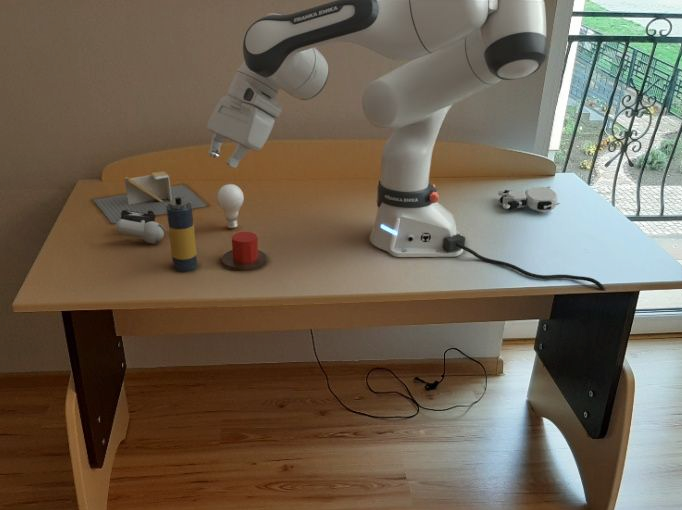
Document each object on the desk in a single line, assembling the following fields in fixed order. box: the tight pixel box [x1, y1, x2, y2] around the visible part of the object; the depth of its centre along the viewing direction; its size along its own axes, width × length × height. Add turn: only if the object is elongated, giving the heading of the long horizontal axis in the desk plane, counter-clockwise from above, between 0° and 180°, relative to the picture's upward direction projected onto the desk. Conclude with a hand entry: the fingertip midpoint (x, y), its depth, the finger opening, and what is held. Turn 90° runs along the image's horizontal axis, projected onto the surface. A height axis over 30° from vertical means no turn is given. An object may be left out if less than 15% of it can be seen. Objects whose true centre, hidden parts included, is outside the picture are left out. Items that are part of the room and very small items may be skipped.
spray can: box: [166, 197, 198, 273], centre depth 147 cm, size 5×5×16 cm
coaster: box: [221, 249, 268, 272], centre depth 154 cm, size 10×10×1 cm
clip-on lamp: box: [115, 210, 169, 245], centre depth 162 cm, size 12×6×18 cm
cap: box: [231, 231, 259, 263], centre depth 153 cm, size 6×6×5 cm
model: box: [124, 170, 173, 205], centre depth 179 cm, size 3×11×8 cm, turn 121°
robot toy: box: [497, 185, 561, 213], centre depth 184 cm, size 12×4×15 cm
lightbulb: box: [216, 183, 245, 230], centre depth 166 cm, size 6×6×11 cm
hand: (221, 161), depth 139 cm, fingers open, 8 cm apart
